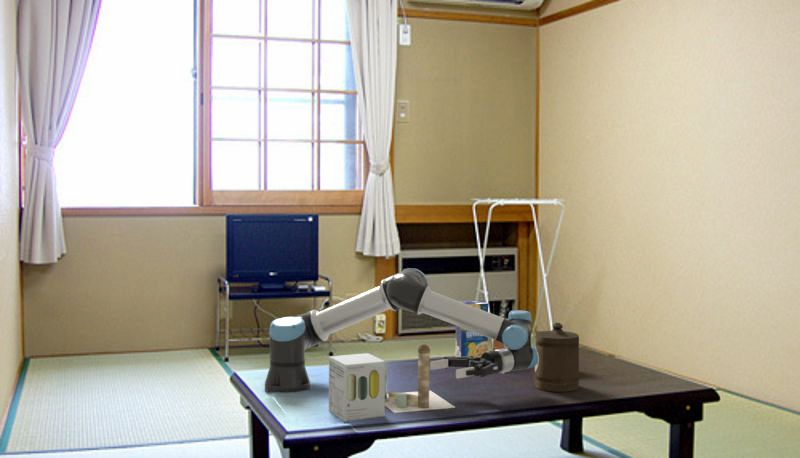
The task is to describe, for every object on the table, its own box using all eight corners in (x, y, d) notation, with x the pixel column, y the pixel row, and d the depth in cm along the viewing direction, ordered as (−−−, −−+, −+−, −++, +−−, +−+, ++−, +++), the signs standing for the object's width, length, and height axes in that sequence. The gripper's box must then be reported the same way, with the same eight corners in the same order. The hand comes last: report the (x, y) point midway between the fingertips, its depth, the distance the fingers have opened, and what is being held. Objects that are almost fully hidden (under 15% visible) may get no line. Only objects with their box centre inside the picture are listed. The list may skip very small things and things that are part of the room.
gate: (387, 402, 287) (387, 341, 285) (393, 400, 290) (393, 339, 288) (425, 409, 280) (426, 346, 278) (431, 406, 283) (432, 344, 281)
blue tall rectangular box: (487, 359, 354) (488, 303, 353) (460, 361, 351) (461, 304, 350) (481, 356, 361) (482, 300, 359) (455, 357, 358) (455, 301, 356)
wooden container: (546, 379, 322) (547, 317, 321) (585, 385, 314) (587, 322, 312) (526, 387, 310) (527, 323, 309) (566, 394, 302) (568, 328, 300)
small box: (492, 357, 360) (492, 330, 359) (496, 354, 365) (496, 328, 364) (512, 358, 357) (512, 332, 356) (515, 356, 362) (516, 329, 361)
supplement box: (344, 424, 266) (344, 364, 265) (327, 412, 278) (328, 356, 277) (385, 419, 272) (385, 360, 270) (368, 408, 284) (368, 352, 282)
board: (394, 415, 275) (394, 412, 275) (372, 397, 296) (372, 395, 296) (455, 410, 282) (455, 407, 282) (430, 392, 303) (430, 390, 303)
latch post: (398, 408, 280) (399, 395, 280) (395, 406, 283) (395, 393, 283) (408, 407, 281) (408, 394, 281) (405, 405, 284) (405, 392, 284)
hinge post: (377, 402, 287) (377, 364, 286) (373, 399, 291) (373, 361, 290) (390, 401, 289) (391, 363, 288) (386, 397, 293) (386, 360, 292)
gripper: (521, 380, 287) (467, 389, 275) (472, 366, 307) (420, 373, 296) (522, 357, 286) (468, 365, 274) (472, 343, 307) (420, 350, 295)
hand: (443, 369), depth 285 cm, fingers open, 13 cm apart
